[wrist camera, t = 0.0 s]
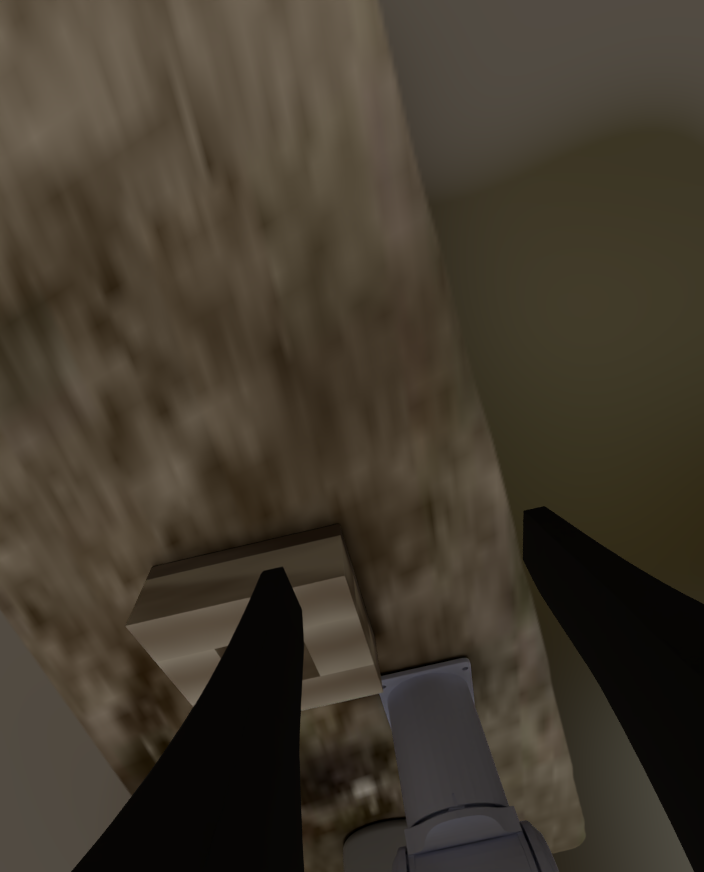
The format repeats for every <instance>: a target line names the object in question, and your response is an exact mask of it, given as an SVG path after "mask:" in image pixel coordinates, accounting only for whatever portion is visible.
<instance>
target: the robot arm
mask: <svg viewBox="0 0 704 872" xmlns="http://www.w3.org/2000/svg"><path fill="white" fill-rule="evenodd" d="M523 560H524V563H525V564H526V567H527V569H528V571H529V573H530V575H531V577H532V579H533V581H534V582H535V584H536V586H537V589H538V590H539V592H540V594H541V596H542V597H543V599H544V600H545V602H546V603H547V605H548V606H549V608H550V609H551V611H552V613H553V614H554V616H555V617H556V618H557V620H558V622H559V623H560V625H561V626H562V628H563V629H564V631H565V632H566V634H567V635H568V637H569V638H570V640H571V641H572V643H573V644H574V646H575V647H576V649H577V650H578V652H579V654H580V655H581V656H582V658H583V660H584V661H585V663H586V664H587V666H588V667H589V669H590V670H591V672H592V674H593V675H594V677H595V679H596V680H597V682H598V684H599V685H600V687H601V689H602V690H603V692H604V694H605V696H606V698H607V700H608V702H609V703H610V705H611V707H612V709H613V711H614V713H615V715H616V716H617V718H618V720H619V722H620V723H621V725H622V727H623V729H624V731H625V733H626V735H627V737H628V739H629V741H630V743H631V745H632V747H633V749H634V750H635V752H636V754H637V756H638V758H639V760H640V762H641V764H642V766H643V768H644V769H645V772H646V773H647V776H648V778H649V780H650V782H651V784H652V786H653V788H654V790H655V792H656V794H657V796H658V798H659V800H660V802H661V804H662V806H663V808H664V810H665V812H666V814H667V816H668V818H669V820H670V821H671V824H672V826H673V828H674V830H675V832H676V834H677V837H678V839H679V841H680V843H681V845H682V847H683V849H684V851H685V853H686V856H687V857H688V860H689V862H690V864H691V866H692V868H693V870H694V872H704V604H702V603H700V602H699V601H697V600H694V599H693V598H691V597H689V596H686V595H685V594H683V593H681V592H679V591H677V590H676V589H674V588H672V587H670V586H668V585H666V584H665V583H663V582H661V581H660V580H658V579H656V578H654V577H653V576H651V575H649V574H648V573H646V572H644V571H642V570H641V569H639V568H637V567H636V566H634V565H633V564H631V563H629V562H628V561H626V560H624V559H623V558H621V557H620V556H618V555H617V554H615V553H613V552H612V551H610V550H609V549H607V548H606V547H604V546H603V545H601V544H599V543H598V542H596V541H595V540H593V539H592V538H590V537H589V536H587V535H586V534H584V533H583V532H582V531H580V530H579V529H577V528H576V527H574V526H573V525H571V524H570V523H568V522H567V521H565V520H564V519H563V518H561V517H560V516H558V515H557V514H555V513H554V512H552V511H551V510H549V509H548V508H546V507H544V506H543V507H539V508H534V509H530V510H526V511H524V519H523ZM303 660H304V632H303V616H302V608H301V606H300V604H299V602H298V599H297V597H296V595H295V592H294V590H293V588H292V586H291V583H290V581H289V579H288V577H287V574H286V572H285V570H284V568H283V566H282V567H278V568H274V569H269V570H265V571H263V572H262V573H261V574H260V577H259V579H258V581H257V584H256V586H255V588H254V591H253V593H252V595H251V598H250V600H249V602H248V604H247V607H246V609H245V611H244V613H243V615H242V617H241V620H240V622H239V624H238V626H237V628H236V630H235V632H234V634H233V636H232V638H231V640H230V642H229V644H228V646H227V648H226V650H225V652H224V654H223V656H222V657H221V659H220V661H219V663H218V665H217V667H216V669H215V670H214V672H213V674H212V676H211V678H210V680H209V681H208V683H207V685H206V687H205V688H204V690H203V692H202V694H201V695H200V697H199V699H198V700H197V702H196V704H195V705H194V707H193V708H192V710H191V712H190V713H189V715H188V716H187V718H186V720H185V721H184V723H183V724H182V726H181V727H180V729H179V730H178V732H177V733H176V735H175V736H174V738H173V739H172V741H171V742H170V744H169V745H168V747H167V748H166V750H165V751H164V753H163V754H162V756H161V757H160V758H159V760H158V761H157V763H156V764H155V766H154V767H153V768H152V770H151V771H150V773H149V774H148V775H147V777H146V778H145V779H144V781H143V782H142V783H141V785H140V786H139V787H138V789H137V790H136V791H135V793H134V794H133V795H132V797H131V798H130V799H129V801H128V802H127V803H126V804H125V806H124V807H123V808H122V810H121V811H120V812H119V814H118V815H117V816H116V818H115V819H114V820H113V822H112V823H111V824H110V825H109V827H108V828H107V829H106V831H105V832H104V833H103V834H102V836H101V837H100V838H99V839H98V840H97V842H96V843H95V844H94V845H93V846H92V848H91V849H90V850H89V851H88V852H87V854H86V855H85V856H84V857H83V858H82V860H81V861H80V862H79V863H78V864H77V865H76V867H75V868H74V869H73V870H72V871H71V872H304V861H303V843H302V819H301V795H300V761H299V739H300V716H301V698H302V679H303ZM381 680H382V687H383V693H379V695H380V698H381V701H382V704H383V707H384V709H385V712H386V715H387V718H388V721H389V724H390V727H391V730H392V735H393V741H394V747H395V754H396V760H397V766H398V772H399V778H400V785H401V791H402V797H403V803H404V809H405V815H406V822H407V828H406V829H405V830H404V832H405V839H406V845H407V847H406V846H403V847H399V848H398V850H397V855H396V857H395V859H394V861H393V864H392V872H559V870H558V868H557V865H556V863H555V860H554V858H553V856H552V853H551V851H550V849H549V847H548V845H547V843H546V841H545V839H544V837H543V835H542V834H541V833H540V832H539V831H538V830H537V829H536V828H535V827H533V826H532V824H531V823H530V822H529V821H526V820H525V821H520V822H519V819H518V817H517V814H516V811H515V808H514V806H509V804H508V801H507V799H506V796H505V793H504V790H503V787H502V784H501V781H500V778H499V775H498V772H497V769H496V766H495V763H494V760H493V757H492V755H491V752H490V749H489V746H488V743H487V740H486V737H485V734H484V731H483V728H482V725H481V722H480V719H479V716H478V713H477V711H476V708H475V702H474V692H473V683H472V673H471V664H470V661H469V659H468V658H460V659H455V660H451V661H446V662H442V663H437V664H433V665H428V666H424V667H419V668H415V669H410V670H406V671H401V672H397V673H392V674H388V675H383V676H381Z"/></svg>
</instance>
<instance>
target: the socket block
mask: <svg viewBox="0 0 704 872" xmlns="http://www.w3.org/2000/svg"><path fill="white" fill-rule="evenodd" d="M282 566H283V568H284V570H285V572H286V574H287V577H288V579H289V581H290V583H291V586H292V588H293V590H294V592H295V595H296V597H297V599H298V602H299V604H300V606H301V608H302V616H303V632H304V660H303V679H302V698H301V711H302V710H307V709H311V708H316V707H320V706H325V705H329V704H334V703H338V702H343V701H347V700H352V699H356V698H361V697H365V696H370V695H374V694H379V693H383V687H382V680H381V674H380V668H379V661H378V655H377V649H376V642H375V636H374V633H373V630H372V627H371V624H370V620H369V617H368V614H367V611H366V608H365V604H364V601H363V598H362V595H361V591H360V588H359V585H358V582H357V579H356V575H355V572H354V569H353V566H352V563H351V559H350V556H349V553H348V550H347V547H346V543H345V540H344V537H343V534H342V530H341V527H340V524H336V525H331V526H327V527H323V528H318V529H314V530H310V531H305V532H301V533H297V534H293V535H288V536H284V537H280V538H275V539H271V540H267V541H262V542H258V543H254V544H250V545H245V546H241V547H237V548H232V549H228V550H224V551H219V552H215V553H211V554H206V555H202V556H198V557H194V558H189V559H185V560H181V561H176V562H172V563H168V564H163V565H159V566H155V567H152V568H151V570H150V573H149V575H148V577H147V579H146V581H145V584H144V586H143V588H142V590H141V592H140V595H139V597H138V599H137V601H136V604H135V606H134V608H133V610H132V612H131V615H130V617H129V619H128V621H127V624H126V627H127V629H128V630H129V631H130V632H131V633H132V634H133V636H134V637H135V638H136V639H137V640H138V642H139V643H140V644H141V645H142V646H143V648H144V649H145V650H146V651H147V652H148V653H149V655H150V656H151V657H152V658H153V659H154V661H155V662H156V663H157V664H158V665H159V667H160V668H161V669H162V670H163V671H164V672H165V674H166V675H167V676H168V677H169V678H170V680H171V681H172V682H173V683H174V684H175V686H176V687H177V688H178V689H179V690H180V692H181V693H182V694H183V695H184V696H185V697H186V699H187V700H188V701H189V702H190V703H191V705H192V706H193V707H194V705H195V704H196V702H197V700H198V699H199V697H200V695H201V694H202V692H203V690H204V688H205V687H206V685H207V683H208V681H209V680H210V678H211V676H212V674H213V672H214V670H215V669H216V667H217V665H218V663H219V661H220V659H221V657H222V656H223V654H224V652H225V650H226V648H227V646H228V644H229V642H230V640H231V638H232V636H233V634H234V632H235V630H236V628H237V626H238V624H239V622H240V620H241V617H242V615H243V613H244V611H245V609H246V607H247V604H248V602H249V600H250V598H251V595H252V593H253V591H254V588H255V586H256V584H257V581H258V579H259V577H260V574H261V573H262V572H263V571H265V570H269V569H274V568H278V567H282Z"/></svg>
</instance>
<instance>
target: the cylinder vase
mask: <svg viewBox="0 0 704 872" xmlns="http://www.w3.org/2000/svg"><path fill="white" fill-rule="evenodd" d="M406 828H407V822H406V819H398V820H389V821H384V822H379V823H375V824H372V825H369V826H366V827H364V828H362V829H360V830H358V831H356V832H355V833H353V834H352V835H351V836H350V837H349V838H348V839H347V840H346V842H345V844H344V847H343V862H344V872H392V864H393V861H394V859H395V857H396V855H397V850H398V848H399V847H403V846H406V847H407V845H406V839H405V832H404V830H405V829H406Z"/></svg>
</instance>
